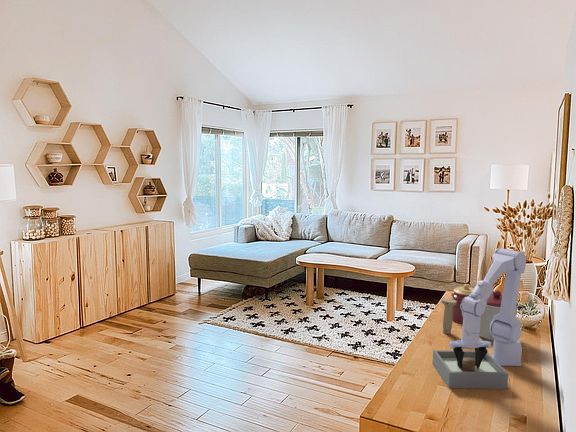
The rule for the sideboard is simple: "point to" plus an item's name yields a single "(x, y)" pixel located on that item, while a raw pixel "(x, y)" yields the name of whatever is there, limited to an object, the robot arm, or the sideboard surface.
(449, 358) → the socket box
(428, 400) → the sideboard surface
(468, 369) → the peg
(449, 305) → the handle
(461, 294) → the canister
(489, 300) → the canister
